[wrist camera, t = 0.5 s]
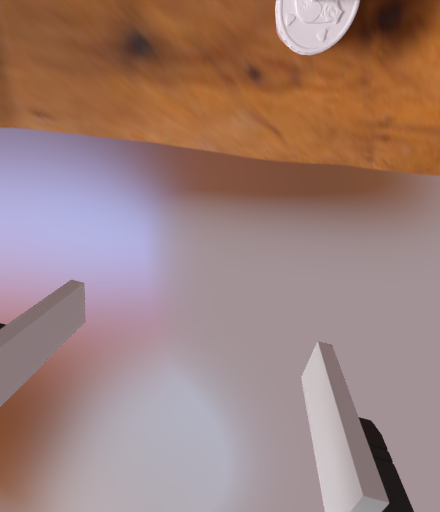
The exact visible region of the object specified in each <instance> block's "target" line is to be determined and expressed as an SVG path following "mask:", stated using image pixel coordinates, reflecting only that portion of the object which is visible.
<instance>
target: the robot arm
mask: <svg viewBox="0 0 440 512" xmlns="http://www.w3.org/2000/svg"><path fill="white" fill-rule="evenodd" d="M84 323H85V291H84V283H82V282H78V281H74V280H70V281H69V282H67V283H66V284H65V285H63V286H62V287H60V288H59V289H57V290H56V291H55V292H53V293H52V294H51V295H49V296H47V297H46V298H44V299H43V300H42V301H40V302H39V303H37V304H36V305H34V306H33V307H32V308H30V309H29V310H27V311H26V312H25V313H23V314H21V315H20V316H19V317H17V318H16V319H14V320H13V321H11V322H10V323H9V324H7V325H5V324H1V323H0V406H1V405H2V404H3V403H4V402H6V401H7V399H9V398H10V396H11V395H13V394H14V392H16V391H17V389H19V387H21V385H23V384H24V382H26V381H27V380H28V379H29V378H30V377H31V375H33V374H34V373H35V372H36V371H37V370H38V369H39V368H40V367H41V366H42V365H43V364H44V363H45V362H46V360H48V359H49V358H50V357H51V356H52V355H53V354H54V353H55V352H56V351H57V350H58V349H59V348H60V347H61V346H62V345H63V344H64V343H65V342H66V341H67V340H68V339H69V338H70V337H71V336H72V335H73V334H74V333H75V332H76V331H77V330H78V329H79V328H80V327H81V326H82V325H83V324H84ZM301 379H302V385H303V390H304V396H305V402H306V407H307V413H308V419H309V424H310V430H311V436H312V441H313V447H314V452H315V458H316V464H317V470H318V475H319V481H320V486H321V492H322V498H323V504H324V509H325V512H414V511H413V508H412V506H411V504H410V501H409V499H408V497H407V494H406V492H405V489H404V487H403V485H402V483H401V480H400V478H399V475H398V473H397V470H396V468H395V466H394V464H393V463H392V462H393V461H392V459H391V456H390V454H389V452H388V451H387V447H386V444H385V442H384V440H383V437H382V435H381V434H380V432H379V431H378V429H377V428H376V427H375V425H374V424H373V423H372V421H370V420H367V419H363V418H359V417H358V415H357V412H356V409H355V407H354V404H353V401H352V399H351V396H350V393H349V390H348V387H347V385H346V382H345V379H344V376H343V373H342V371H341V369H340V365H339V362H338V360H337V357H336V355H335V351H334V349H333V346H332V345H331V344H327V343H323V342H319V341H318V342H317V344H316V347H315V349H314V351H313V353H312V355H311V357H310V360H309V362H308V364H307V366H306V368H305V371H304V373H303V375H302V377H301Z"/></svg>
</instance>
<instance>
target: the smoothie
mask: <svg viewBox="0 0 440 512" xmlns="http://www.w3.org/2000/svg"><path fill="white" fill-rule="evenodd" d="M359 3H360V0H276V7H275V14H276V30H277V34H278V36H279V38H280V39H281V41H282V42H284V43H285V44H286V45H287V46H288V47H289V48H290V49H291V50H292V51H294V52H296V53H299V54H301V55H314V54H318V53H321V52H323V51H325V50H326V49H328V48H330V47H331V46H333V45H334V44H335V43H337V42H338V41H339V40H340V39H341V38H342V37H343V35H344V34H345V33H346V31H347V30H348V29H349V27H350V25H351V24H352V22H353V20H354V17H355V15H356V13H357V10H358V7H359Z"/></svg>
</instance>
